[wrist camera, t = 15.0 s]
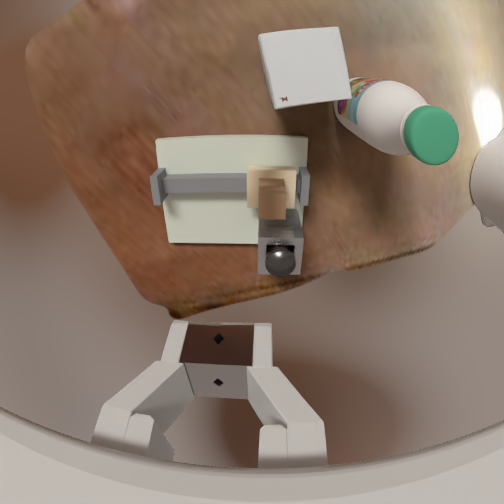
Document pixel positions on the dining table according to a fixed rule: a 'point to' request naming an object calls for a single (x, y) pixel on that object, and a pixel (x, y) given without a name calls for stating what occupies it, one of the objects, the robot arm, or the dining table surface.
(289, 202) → the carriage
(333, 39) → the supplement box
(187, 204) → the rail bed
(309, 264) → the dining table surface
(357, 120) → the milk bottle
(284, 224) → the cabinet
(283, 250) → the knob
